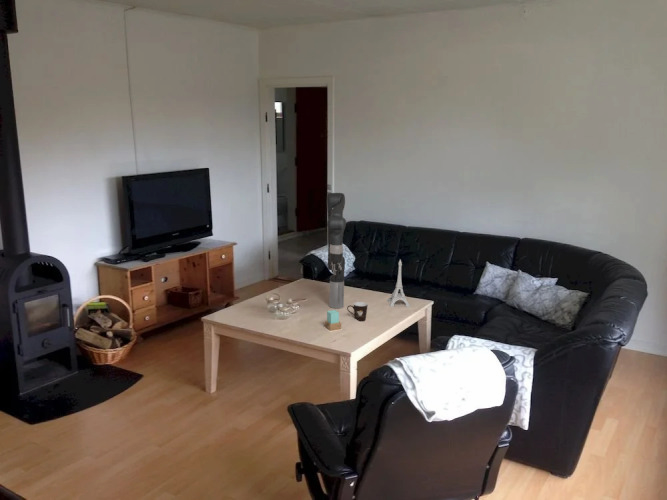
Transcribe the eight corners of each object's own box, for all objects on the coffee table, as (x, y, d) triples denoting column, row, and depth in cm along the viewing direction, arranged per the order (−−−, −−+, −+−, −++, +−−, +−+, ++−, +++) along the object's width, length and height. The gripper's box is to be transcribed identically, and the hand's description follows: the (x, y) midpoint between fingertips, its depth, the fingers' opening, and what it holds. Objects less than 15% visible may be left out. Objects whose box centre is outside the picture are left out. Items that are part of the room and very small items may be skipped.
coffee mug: (369, 319, 365) (370, 303, 363) (363, 323, 358) (363, 307, 356) (353, 315, 371) (353, 300, 369) (346, 319, 364) (346, 303, 362)
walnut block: (324, 327, 346) (324, 320, 345) (335, 325, 349) (335, 319, 348) (330, 331, 340) (330, 324, 339) (341, 329, 343) (341, 322, 342)
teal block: (326, 321, 345) (327, 311, 343) (334, 319, 347) (334, 309, 346) (330, 323, 340) (331, 313, 339) (338, 322, 343) (338, 312, 341)
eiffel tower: (386, 300, 403) (388, 257, 396) (406, 300, 404) (408, 257, 397) (389, 307, 390) (391, 262, 383) (410, 306, 391) (412, 262, 384)
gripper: (325, 249, 347) (324, 278, 351) (335, 255, 336) (335, 284, 340) (336, 248, 350) (336, 276, 355) (347, 253, 339) (347, 283, 343)
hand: (335, 280), depth 347 cm, fingers closed
